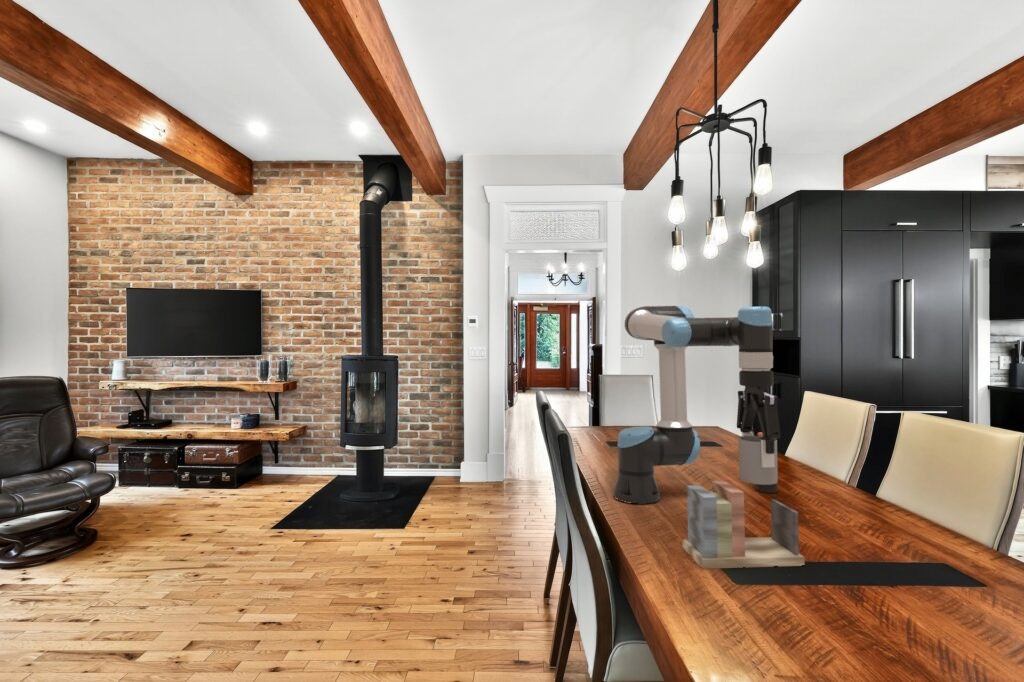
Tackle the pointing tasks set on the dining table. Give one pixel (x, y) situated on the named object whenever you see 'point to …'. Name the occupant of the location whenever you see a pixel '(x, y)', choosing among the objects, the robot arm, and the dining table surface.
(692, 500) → the pastel book stand
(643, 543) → the dining table surface
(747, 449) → the cup
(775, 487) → the bottle
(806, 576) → the dining table surface
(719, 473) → the dining table surface
